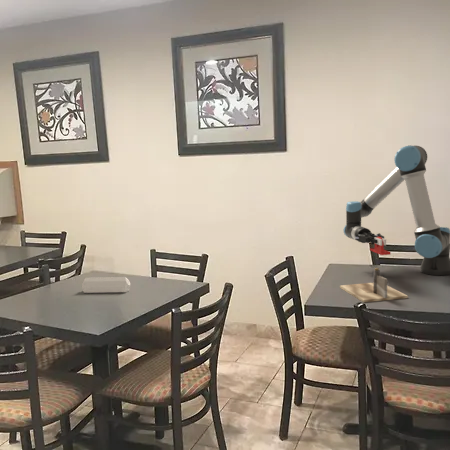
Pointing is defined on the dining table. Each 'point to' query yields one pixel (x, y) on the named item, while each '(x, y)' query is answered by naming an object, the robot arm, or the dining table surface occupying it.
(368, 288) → the hinge mount
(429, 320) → the dining table surface
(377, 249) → the bracket
